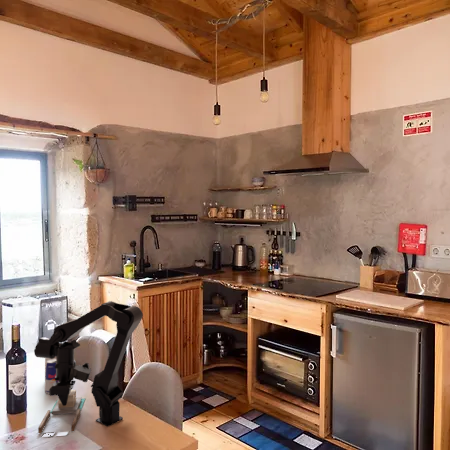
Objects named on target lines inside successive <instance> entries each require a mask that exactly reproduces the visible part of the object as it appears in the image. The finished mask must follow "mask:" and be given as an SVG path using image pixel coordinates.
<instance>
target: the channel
mask: <svg viewBox="0 0 450 450" xmlns="http://www.w3.org/2000/svg"><path fill="white" fill-rule="evenodd" d="M81 411H82V409H81V408H78V410H77V413H75V415H74V418H73V421H72V423H71V425H70V432H71V431H74V432H75V430H76V427H77V424H78V422H79V419H80V417H81V414H82V413H81ZM50 412H51V410H50V409H48V410H47V411H46V412H45V414H44V416H43V418H42V420H41V421H40V424H39V425H38V428H37V429H38V430H37V431H38V432H37V434H38V433H41V432H42V433H41V436H40V438H41V437H42V436H43V435H44V434H46V433H54V432H55V431H50V432H49V431H48V432H43V431H44V429H45V427H46V426H47V423H48V421H49V419H50V418H51V413H50ZM44 426H45V427H44ZM43 428H44V429H43ZM42 430H43V431H42ZM48 435H49V434H48ZM50 436H51V435H50Z"/></svg>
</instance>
